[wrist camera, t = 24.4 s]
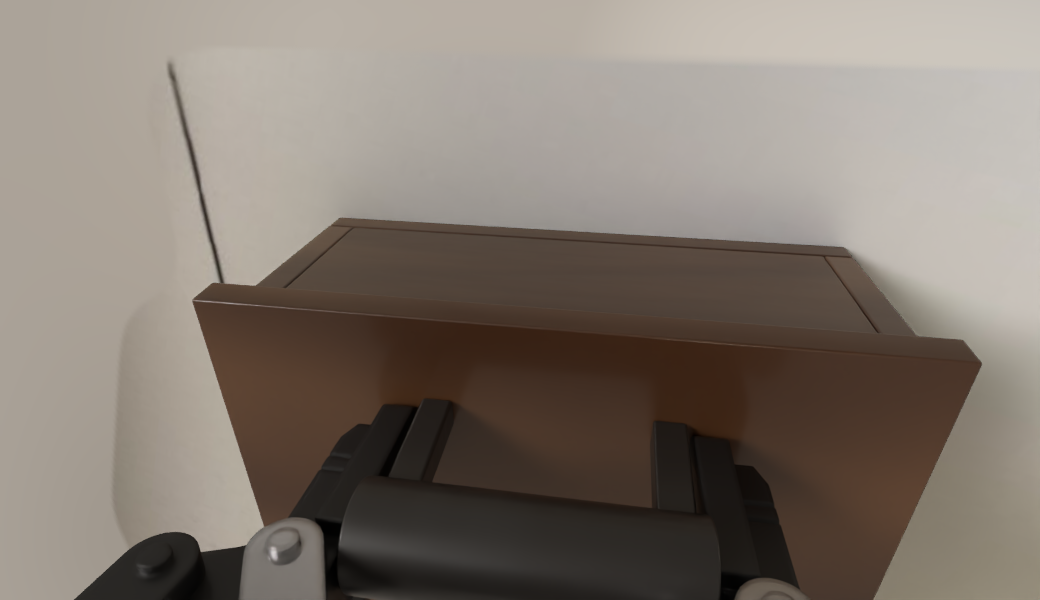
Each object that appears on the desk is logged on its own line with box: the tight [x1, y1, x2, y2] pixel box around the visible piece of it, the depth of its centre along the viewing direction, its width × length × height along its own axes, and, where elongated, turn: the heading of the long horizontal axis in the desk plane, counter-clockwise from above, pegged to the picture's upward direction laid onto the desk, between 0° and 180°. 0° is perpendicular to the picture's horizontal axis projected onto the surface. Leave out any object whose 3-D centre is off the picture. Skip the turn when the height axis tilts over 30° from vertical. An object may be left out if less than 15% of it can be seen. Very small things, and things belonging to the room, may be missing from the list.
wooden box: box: [256, 218, 917, 336], centre depth 20 cm, size 14×16×6 cm
